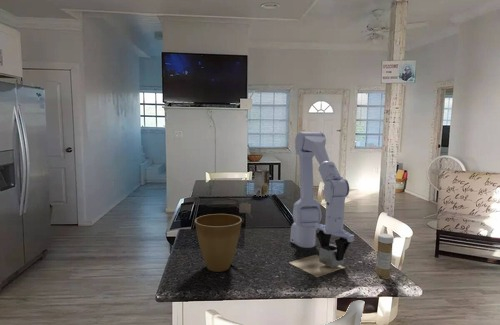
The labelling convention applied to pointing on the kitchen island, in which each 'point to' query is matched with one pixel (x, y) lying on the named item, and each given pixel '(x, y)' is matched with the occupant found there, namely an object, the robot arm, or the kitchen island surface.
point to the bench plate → (314, 266)
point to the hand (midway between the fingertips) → (332, 256)
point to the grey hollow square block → (329, 256)
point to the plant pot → (218, 239)
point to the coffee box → (261, 182)
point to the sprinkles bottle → (384, 255)
